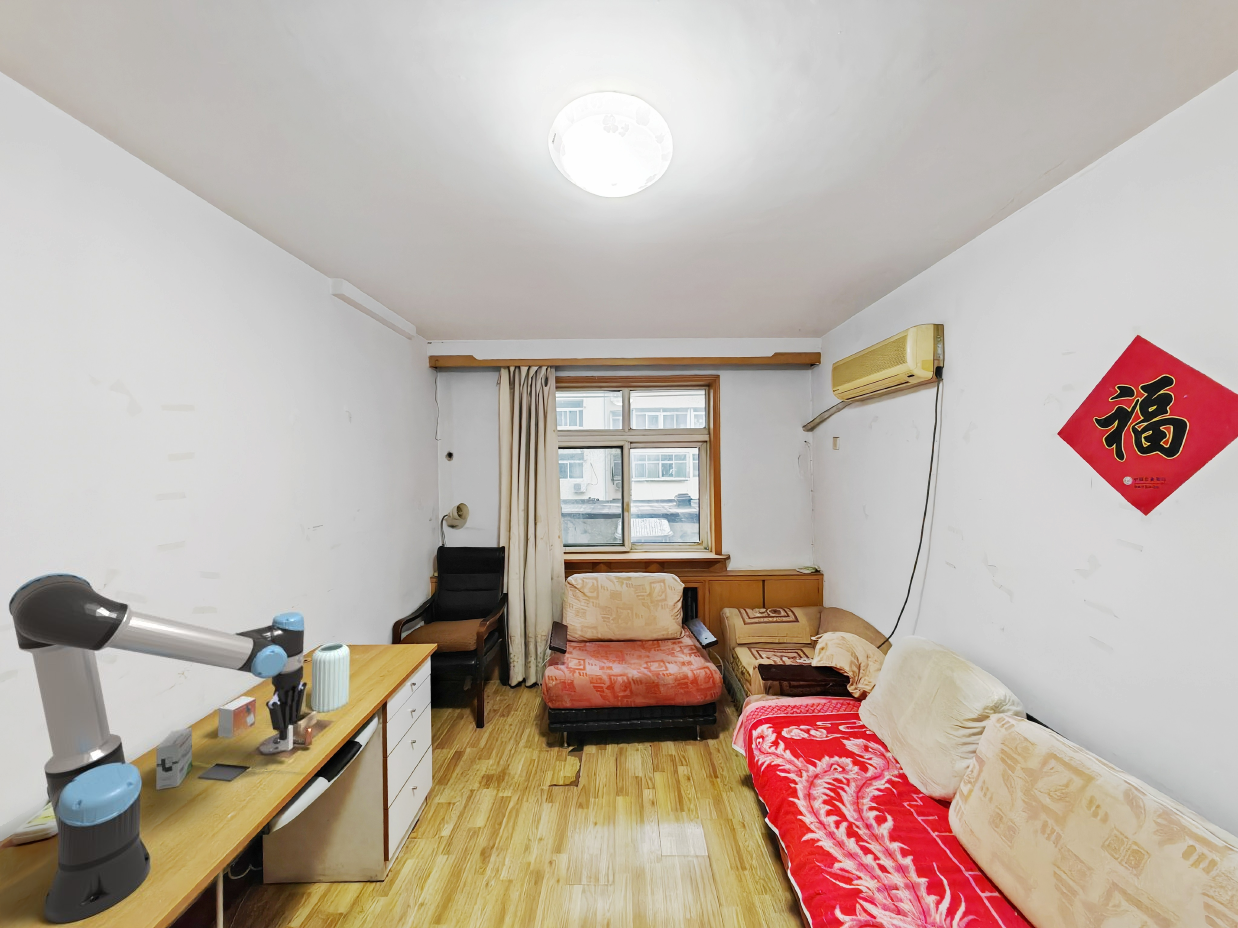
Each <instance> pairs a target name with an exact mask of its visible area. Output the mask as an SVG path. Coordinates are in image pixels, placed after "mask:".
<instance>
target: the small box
mask: <svg viewBox="0 0 1238 928" xmlns="http://www.w3.org/2000/svg"><path fill="white" fill-rule="evenodd" d="M256 704H257V698H255V697H249V696H244V695H242V696H240V697H238V698H236V699H234V700H232V701H231V702H229V703H226V704H225V705H222V706H220V707H218V730H217V731H218V733H217V734H218V735H217V738H219V737H221V738H226V739H234V738H237V736H239V735H241V734H243V733H244V732H246V731H247V730H250V729H251V728H253V727H254V726H256V715H257V713H256V710H257V709H256V708H257V705H256Z"/></svg>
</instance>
